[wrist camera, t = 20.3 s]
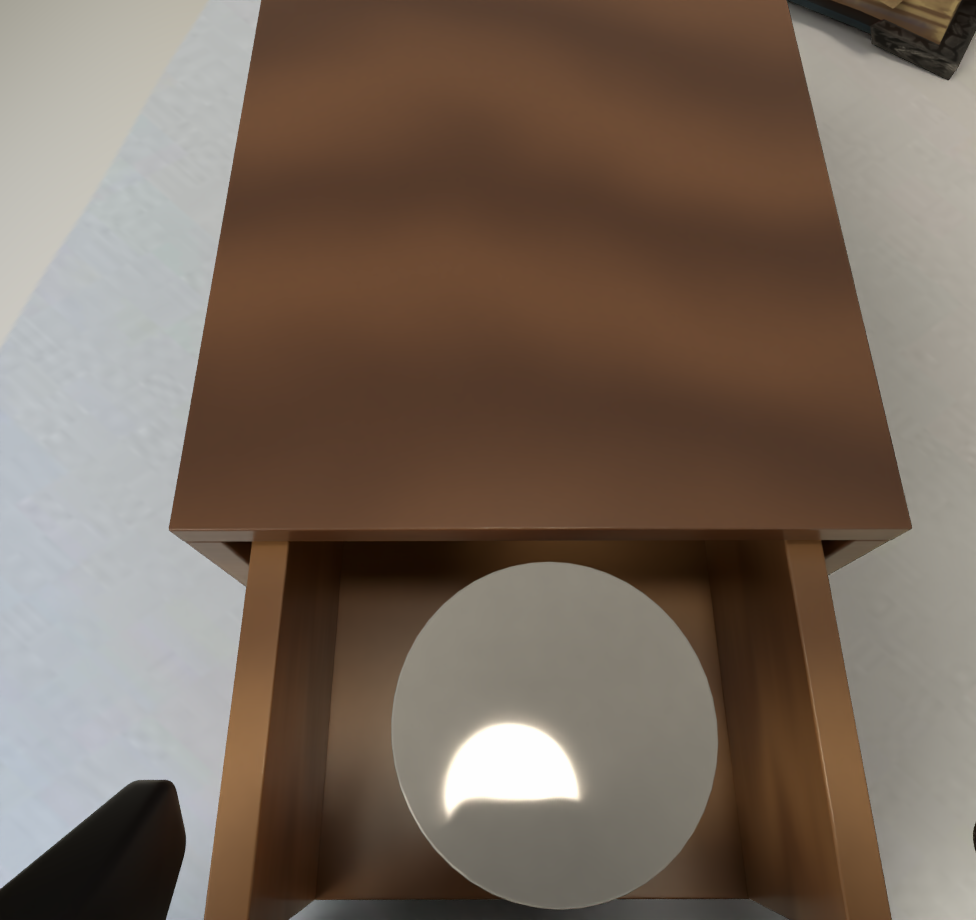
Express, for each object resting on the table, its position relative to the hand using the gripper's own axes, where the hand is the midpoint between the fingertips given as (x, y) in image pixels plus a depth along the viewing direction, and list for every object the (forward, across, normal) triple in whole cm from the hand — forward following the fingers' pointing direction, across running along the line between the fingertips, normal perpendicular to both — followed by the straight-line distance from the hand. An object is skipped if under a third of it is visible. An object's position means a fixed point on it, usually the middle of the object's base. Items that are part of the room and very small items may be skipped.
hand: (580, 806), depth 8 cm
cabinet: (+18, 0, 0) cm, 18 cm away
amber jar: (+9, 0, +7) cm, 11 cm away
